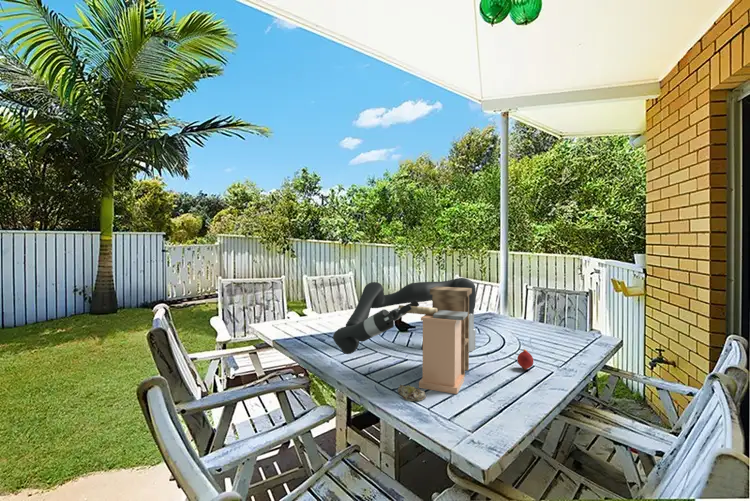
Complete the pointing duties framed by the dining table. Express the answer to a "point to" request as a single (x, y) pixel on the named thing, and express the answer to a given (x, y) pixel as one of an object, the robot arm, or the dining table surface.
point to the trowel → (438, 313)
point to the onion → (525, 359)
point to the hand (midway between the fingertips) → (414, 304)
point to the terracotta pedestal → (441, 355)
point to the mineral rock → (411, 393)
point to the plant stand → (455, 302)
